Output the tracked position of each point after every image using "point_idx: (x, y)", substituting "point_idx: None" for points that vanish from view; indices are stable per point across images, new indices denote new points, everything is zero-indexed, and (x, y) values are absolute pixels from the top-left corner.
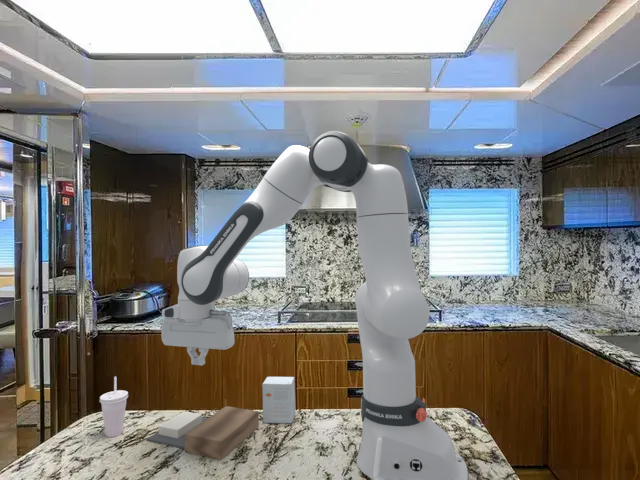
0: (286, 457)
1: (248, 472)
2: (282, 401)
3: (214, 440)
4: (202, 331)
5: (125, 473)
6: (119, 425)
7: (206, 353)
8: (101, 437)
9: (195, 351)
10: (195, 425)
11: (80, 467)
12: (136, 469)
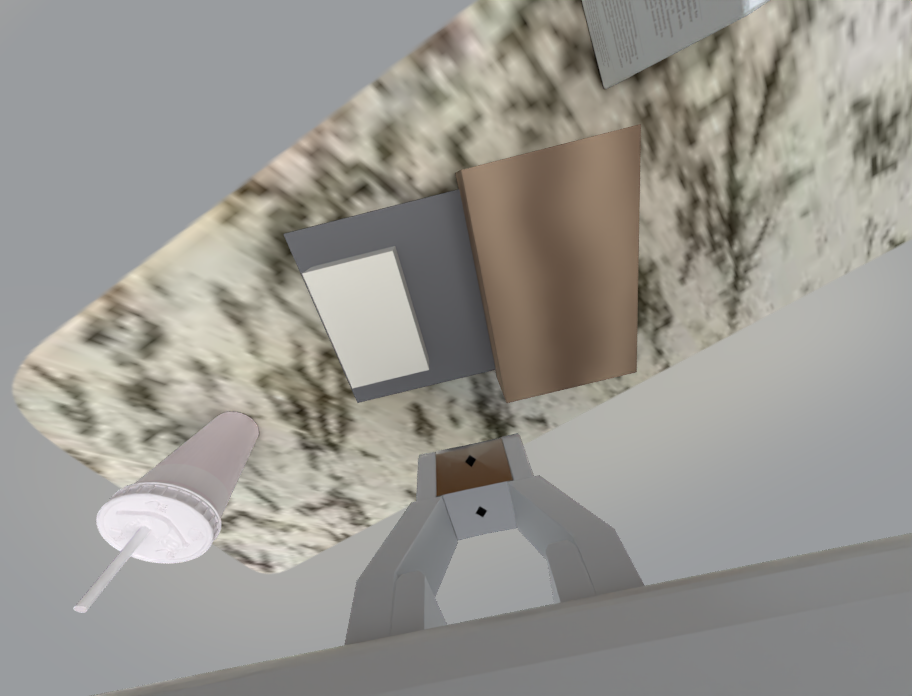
0: (772, 244)
1: (698, 345)
2: None
3: (613, 377)
4: None
5: None
6: (247, 444)
7: (578, 511)
8: None
9: (416, 551)
10: (405, 282)
11: (356, 513)
12: None
